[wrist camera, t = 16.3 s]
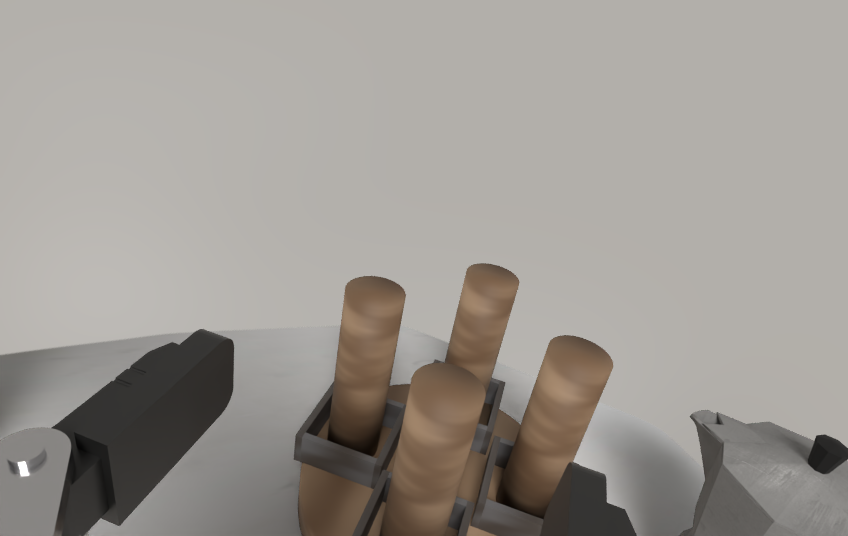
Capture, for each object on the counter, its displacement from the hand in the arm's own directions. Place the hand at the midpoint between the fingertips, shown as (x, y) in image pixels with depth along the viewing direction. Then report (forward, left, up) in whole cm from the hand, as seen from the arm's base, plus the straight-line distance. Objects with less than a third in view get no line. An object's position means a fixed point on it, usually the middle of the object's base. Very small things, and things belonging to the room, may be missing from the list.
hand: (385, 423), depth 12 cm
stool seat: (0, +21, -27) cm, 34 cm away
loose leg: (0, +14, -24) cm, 27 cm away
